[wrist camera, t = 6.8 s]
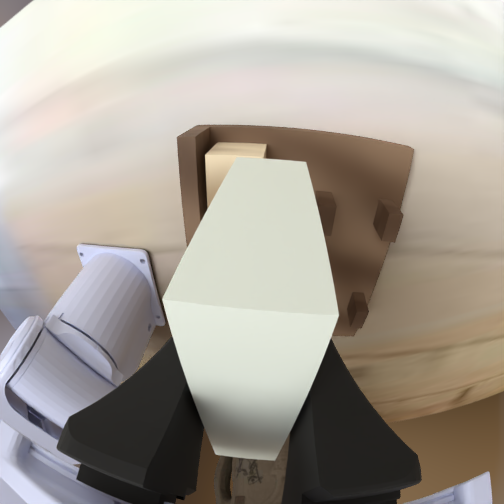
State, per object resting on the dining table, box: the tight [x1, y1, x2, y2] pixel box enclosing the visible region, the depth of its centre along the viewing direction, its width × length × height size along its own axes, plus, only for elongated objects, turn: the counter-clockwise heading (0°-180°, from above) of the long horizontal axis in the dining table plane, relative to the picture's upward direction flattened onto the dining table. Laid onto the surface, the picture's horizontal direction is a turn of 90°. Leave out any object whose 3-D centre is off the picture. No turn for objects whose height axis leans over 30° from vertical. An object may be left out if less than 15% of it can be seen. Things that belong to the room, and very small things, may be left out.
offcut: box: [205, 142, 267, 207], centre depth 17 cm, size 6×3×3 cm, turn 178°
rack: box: [177, 125, 414, 336], centre depth 19 cm, size 18×14×4 cm
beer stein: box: [214, 433, 290, 504], centre depth 25 cm, size 15×11×20 cm
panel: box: [162, 157, 339, 461], centre depth 10 cm, size 10×3×8 cm, turn 178°
